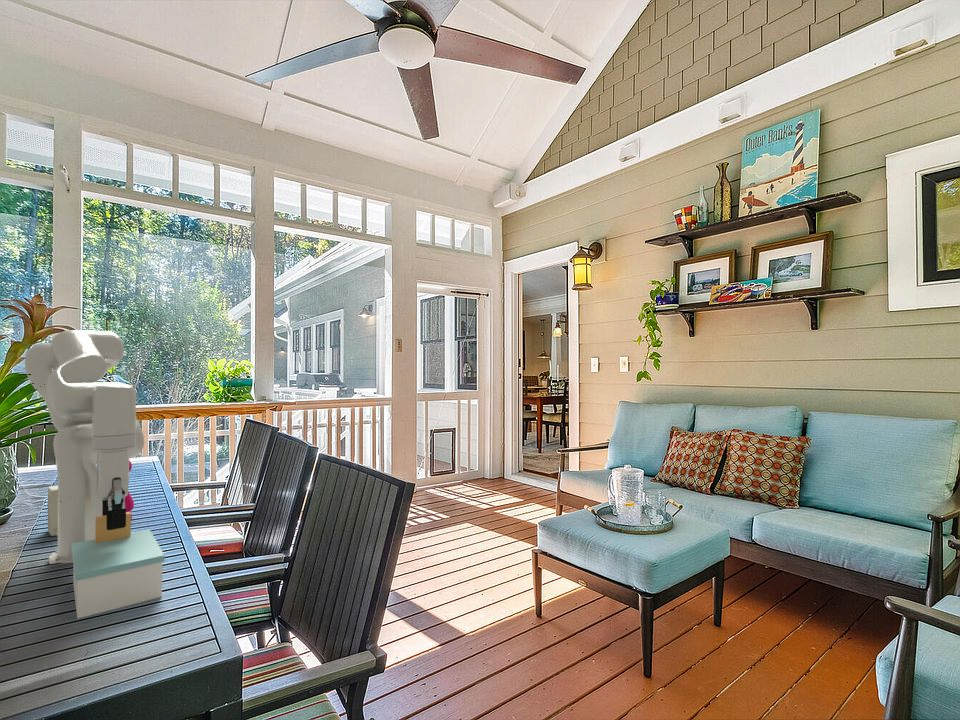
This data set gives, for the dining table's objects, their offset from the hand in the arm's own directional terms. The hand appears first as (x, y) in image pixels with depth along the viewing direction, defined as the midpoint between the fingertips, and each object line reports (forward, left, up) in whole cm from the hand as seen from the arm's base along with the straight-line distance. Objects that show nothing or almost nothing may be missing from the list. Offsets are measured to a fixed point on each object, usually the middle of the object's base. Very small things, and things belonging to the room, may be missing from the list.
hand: (113, 522), depth 107 cm
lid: (+7, 0, -6) cm, 9 cm away
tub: (+7, 0, -13) cm, 15 cm away
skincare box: (-45, -8, -13) cm, 47 cm away
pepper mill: (-45, +5, -13) cm, 47 cm away
